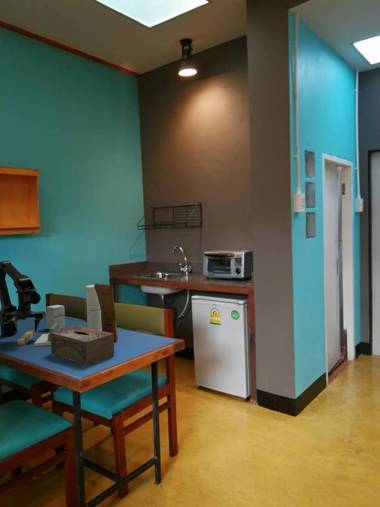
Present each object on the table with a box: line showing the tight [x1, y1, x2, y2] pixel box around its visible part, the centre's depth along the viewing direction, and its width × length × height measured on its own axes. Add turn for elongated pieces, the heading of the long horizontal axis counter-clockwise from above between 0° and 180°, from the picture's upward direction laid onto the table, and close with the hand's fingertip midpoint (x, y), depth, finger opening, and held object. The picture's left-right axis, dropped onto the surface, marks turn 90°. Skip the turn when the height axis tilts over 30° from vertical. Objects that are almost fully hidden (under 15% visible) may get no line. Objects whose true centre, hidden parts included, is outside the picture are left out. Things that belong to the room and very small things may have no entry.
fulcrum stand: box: [33, 323, 62, 347], centre depth 200 cm, size 16×16×8 cm
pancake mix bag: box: [93, 282, 119, 343], centre depth 200 cm, size 7×19×28 cm, turn 33°
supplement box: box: [45, 304, 66, 330], centre depth 224 cm, size 7×7×13 cm
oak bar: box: [17, 329, 36, 346], centre depth 203 cm, size 18×3×3 cm, turn 6°
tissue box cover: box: [49, 325, 115, 366], centre depth 177 cm, size 26×14×10 cm, turn 52°
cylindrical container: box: [85, 284, 102, 331], centre depth 213 cm, size 7×7×25 cm
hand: (26, 332), depth 202 cm, fingers open, 9 cm apart
